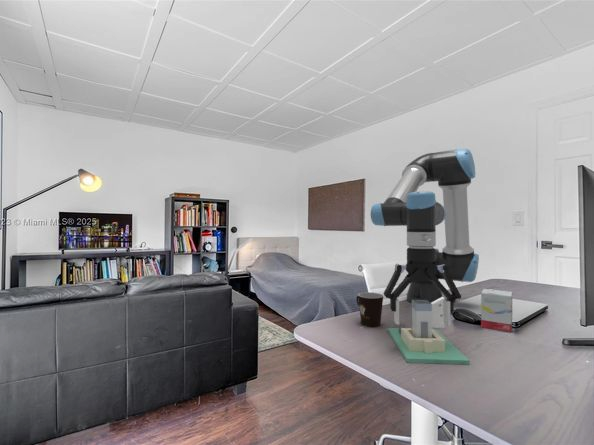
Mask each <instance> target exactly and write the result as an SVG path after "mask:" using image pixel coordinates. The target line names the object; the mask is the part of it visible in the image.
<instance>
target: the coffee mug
mask: <svg viewBox="0 0 594 445" xmlns="http://www.w3.org/2000/svg"><path fill="white" fill-rule="evenodd" d="M383 302H384V294H383V293H382V294H381V293H378V292H366V291H365V292H360V293H357V295H356V303H357V306H358V308H359V314H360V323H361V325H362V326H364V327H367V328H378V327H380V326H381V321H382V312H383V311H382V310H383V304H384V303H383Z"/></svg>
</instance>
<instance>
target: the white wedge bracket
mask: <svg viewBox="0 0 594 445" xmlns="http://www.w3.org/2000/svg"><path fill="white" fill-rule="evenodd" d="M443 299H446V297H445V296H443V297H441V298H439V299H437V300H435V301H434V302H431V304H432V329H445V328H446V324H445V323H444V312H443Z"/></svg>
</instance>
